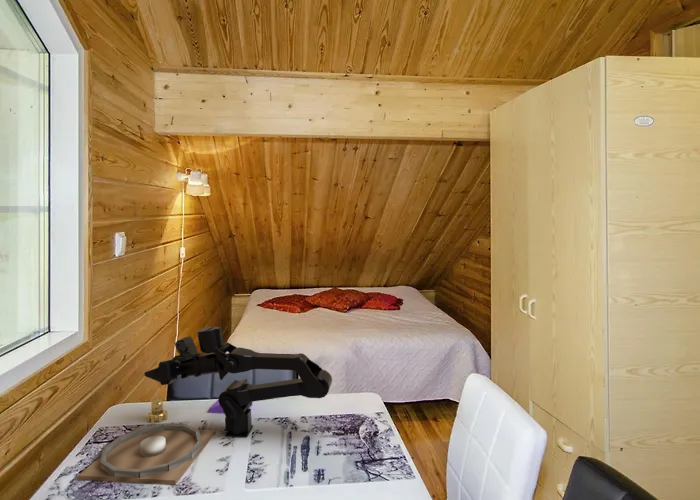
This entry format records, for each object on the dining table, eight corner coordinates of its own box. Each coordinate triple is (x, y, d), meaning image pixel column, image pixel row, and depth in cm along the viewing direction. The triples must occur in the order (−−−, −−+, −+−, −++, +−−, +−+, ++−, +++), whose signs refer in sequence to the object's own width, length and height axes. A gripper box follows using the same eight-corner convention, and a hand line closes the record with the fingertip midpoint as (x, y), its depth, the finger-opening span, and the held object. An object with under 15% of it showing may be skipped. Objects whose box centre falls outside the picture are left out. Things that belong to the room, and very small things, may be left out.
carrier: (215, 433, 125) (215, 421, 125) (175, 484, 101) (175, 470, 101) (135, 430, 127) (135, 418, 127) (78, 479, 103) (77, 465, 103)
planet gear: (171, 415, 137) (170, 396, 136) (161, 423, 131) (161, 404, 131) (153, 414, 137) (153, 396, 137) (143, 423, 131) (142, 403, 131)
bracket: (252, 406, 144) (252, 386, 143) (245, 415, 137) (244, 394, 137) (217, 404, 145) (217, 384, 145) (208, 413, 138) (208, 392, 138)
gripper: (215, 333, 136) (168, 340, 137) (185, 339, 117) (131, 347, 119) (219, 369, 134) (172, 375, 136) (189, 381, 116) (135, 388, 118)
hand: (154, 371), depth 127 cm, fingers open, 9 cm apart
